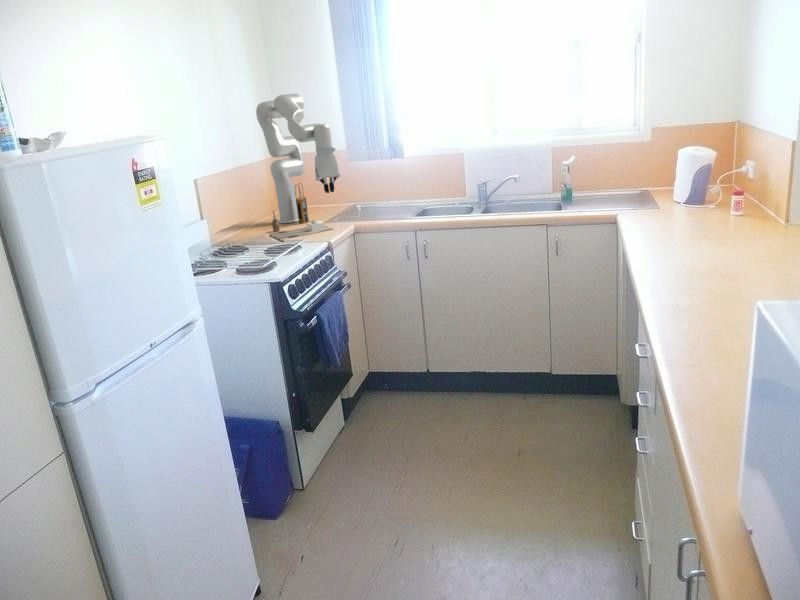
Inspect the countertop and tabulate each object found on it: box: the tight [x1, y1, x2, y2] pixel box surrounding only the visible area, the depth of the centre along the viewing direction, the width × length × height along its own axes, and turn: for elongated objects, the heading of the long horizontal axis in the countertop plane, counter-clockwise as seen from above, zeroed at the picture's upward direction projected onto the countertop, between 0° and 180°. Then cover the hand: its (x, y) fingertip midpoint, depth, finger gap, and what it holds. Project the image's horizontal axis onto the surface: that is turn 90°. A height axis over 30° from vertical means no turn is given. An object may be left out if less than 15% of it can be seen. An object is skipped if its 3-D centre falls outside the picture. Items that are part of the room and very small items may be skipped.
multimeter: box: [294, 182, 310, 225], centre depth 328 cm, size 15×10×20 cm
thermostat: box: [306, 220, 325, 231], centre depth 308 cm, size 6×6×3 cm
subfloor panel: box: [268, 225, 336, 243], centre depth 306 cm, size 18×26×1 cm
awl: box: [271, 210, 281, 233], centre depth 312 cm, size 3×3×11 cm
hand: (329, 192), depth 308 cm, fingers closed
